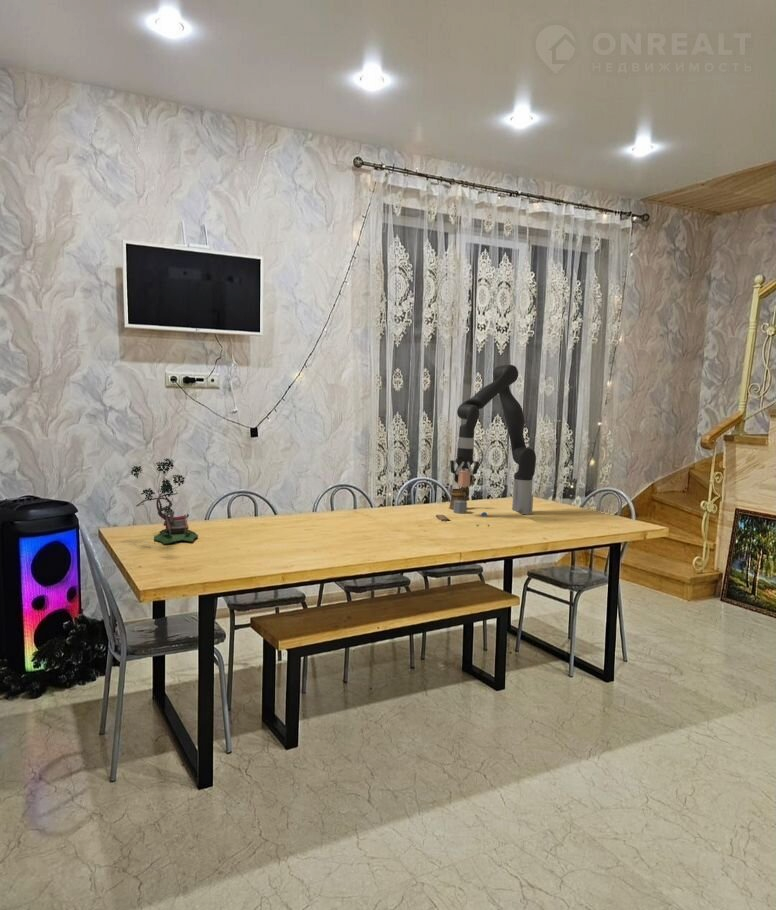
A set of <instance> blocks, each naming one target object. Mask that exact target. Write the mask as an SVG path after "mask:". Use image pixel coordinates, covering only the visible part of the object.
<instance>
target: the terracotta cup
mask: <svg viewBox="0 0 776 910" xmlns="http://www.w3.org/2000/svg"><path fill="white" fill-rule="evenodd" d="M470 474H471V473H470V471H468V470H467V469H466V470H465V469H464V470H463V469H461V470H460V471H459V473H458V483H456V482H455V484H456V486H457V487H462V488H463V487H468V488H469V486H470ZM470 487H471V486H470Z"/></svg>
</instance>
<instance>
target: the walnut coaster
mask: <svg viewBox="0 0 776 910" xmlns="http://www.w3.org/2000/svg"><path fill="white" fill-rule="evenodd" d="M435 517H437V518H436V519H438V520H439V521H440V520H441V521H452V520H451V519H450V518H448V517H447V516H445V515H444V514H435ZM441 521H440V522H441Z"/></svg>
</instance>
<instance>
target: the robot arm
mask: <svg viewBox="0 0 776 910" xmlns="http://www.w3.org/2000/svg"><path fill="white" fill-rule="evenodd" d="M492 375H493V382H491V383H489V384H487V385H485V386H484V387H482V388H481V389H479V391H478V392H476V393H475V394H474V395H473V396H472V397H471V398H469V399H467V400H465V401H464V402H462V403H460V405H459V406H458V408H457V411H456V415H457V417H458V418H459V419H461V420H466V422H465V423H464V424H461V425H460V426H459V428H458V429H459V430H458V431H459V432H458V440H457V449H456V450H457V451H456V452H457V453H456V459H450V460H449V467H450V472H451V473H452V474H454V477H453V478H454V479H453V481H454V482H455V484H456V483H458V473H459V471H460V470H463V469H464V470H465V469H466V470H467V471H470V473H471V474H470V483H471V482H472V478H473V475H477V473H478V470H479V465H480V462H479V461H477V460H474V448H475V440H474V439H475V429H476V426H477V423H478V420H479V417H480V410H482V409H483V408H485V406H487V405H488V403H490V402H491V401H492V400H493V399H494V398H495V397H496V396H498V395H499V399H500V404H501V407H502V411H503V416H504V421H505V423H506V428H507V432H508V437H509V440H510V447H511V455H512V459H513V461H514V463H516V464H517V465H518V467H517V468H518V469H517V470H516V472H514V474H513V491H512V503H511V504H512V507H511V511H514V512H516V513H519V514H521V515H523V514H526V515H532V514H533V507H534V494H533V481H534V480H533V479H534V476H535V474H536V473H535V472H536V464H537V463H536V462H537V455H536V451H535V450H534V449H533V448H531V447H527V446H526V442H525V439H524V437H525V436H524V430H525V423H526V421H525V415H524V412H523V408H522V405H520V402H518V400H517V398H515V396H514V395H513V393H512V391H511V389H510V386H511V385H513V384H514V383H516V381H517V380H518V378H519V370H518V368H517V367H516V366H515V365H514V364H505V365H504V364H503V365H498V366H496V367H494V369H493V373H492ZM455 465H457V466H456V467H455ZM472 465H473V469H472Z"/></svg>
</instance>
